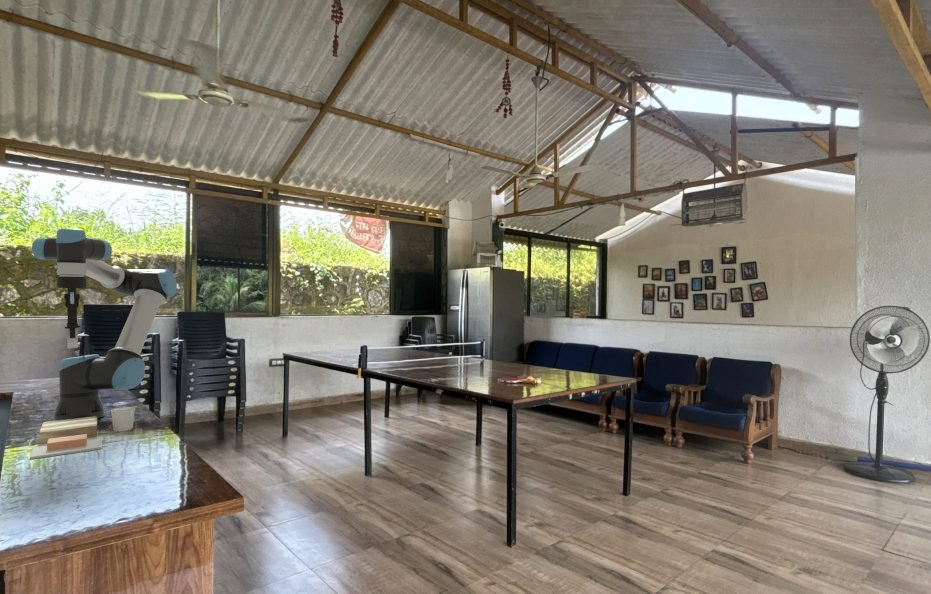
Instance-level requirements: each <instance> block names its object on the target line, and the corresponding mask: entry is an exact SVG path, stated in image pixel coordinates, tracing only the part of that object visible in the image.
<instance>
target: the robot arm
mask: <svg viewBox="0 0 931 594" xmlns="http://www.w3.org/2000/svg"><path fill="white" fill-rule="evenodd" d="M31 252H32V254H33V256H34V258H37V259H39V260H45V261H48V260H51V261H53V262H56V265H54V269H57V270H56V275H57V277H56V287H57V289H67V293H64V294H63V296H64V300H65V303H64V305H65V308H67V309H66V311H67V322H66V326H64V330H65V329H66V340H67V341H66V344H67V346H66V347H67V349H78V347H79V339H78V337H79V336H78V335H79V331H78V328H81V326H80V325H79V324H78V307H80V304H79V303H80V297H81V296H80V293H77V289H85V288H87V277H88V278H91V279H93V280H95V281H97V282H99V283H100V285H102V287H104V288H106V289H108V290H110V291H113V292H116V293H118V294H121V295H123V296H128V297H134V298H135V301H134V303H133V306H132V308H131V310H130V312H129V314H128V316H127V319H126V321H125V324H124V326H123V329H122V330H121V333H120V334H119V338H118V340H117V342H116V344H115V347H113V348H110V349H109V350H107V352H106V355H105V357H103V358H100V354H99V353H98V354H95V353H94V354H88V355H87V354H86V355H81V356H73V357H67V358H63V359H62V360H61V361H60V362H59V370H58V373H59V399H58V402H57V404H56V408H55V410H54V412H53V413H52V414H53V415H52V421H58V420H66V419H75V418H84V417H93V416H97V419H99V418H102V417H104V416H105V414H106V413H105V407H104V405H103V402H102V399H101V397H100V390H101V391H102V390H103V391H104V390H105V391H106V390H107V391H108V390H110V391H113V390H114V391H123V390H131V389H133V388H136V387H137V386H139V385H140V384H141V382H142V381H143V379H144V377H145V374H146V370H145V369H146V363H145V361H144V360H143V356H142V354H141V353H142V350H143V348H144V346H145V342H146V340H147V338H148V336H149V333H150V330H151V328H152V325H153V323H154V320H155V318H156V315H157V313H158V310H159V308H160V306H163V305H165V304H166V301H167V299H168V298H173V297H174V296H175V295H176V294H177V290H178V285H177V279H176V277H175V274H174V273H173V272H172V271H171V270H169V269H162V268H158V269H148V268H147V269H143V268H142V269H141V268H140V269H137V268H136V269H135V268H134V269H130V268H122V267H120V266H118V265H110V264H109V263H106V262H105V261H106V260H107V259H109V257H111V255H112V252H113V248H112V245H111V244H110V242H108V241H107V240H105V239H101V238H93V237H87V236H86V231H85V230H84V229H80V228H79V229H78V228H59V229H57V231H56V237H49V236H48V237H47V236H46V237H38V238H36V239H35V240H34V241H32V244H31ZM85 276H86V277H85Z"/></svg>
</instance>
